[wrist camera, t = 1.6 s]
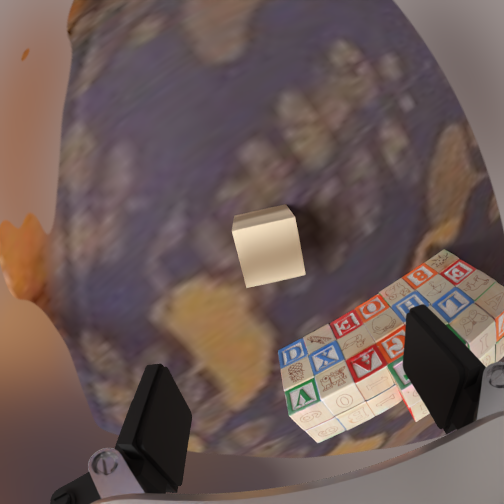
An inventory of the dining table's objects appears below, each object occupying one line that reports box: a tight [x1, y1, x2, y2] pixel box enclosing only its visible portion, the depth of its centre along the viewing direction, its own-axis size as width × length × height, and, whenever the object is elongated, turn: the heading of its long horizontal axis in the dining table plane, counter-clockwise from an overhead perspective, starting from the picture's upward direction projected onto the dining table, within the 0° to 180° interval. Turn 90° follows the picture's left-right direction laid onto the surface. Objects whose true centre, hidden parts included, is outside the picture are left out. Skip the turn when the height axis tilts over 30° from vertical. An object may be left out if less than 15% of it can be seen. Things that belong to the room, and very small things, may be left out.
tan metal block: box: [232, 204, 305, 288], centre depth 24 cm, size 4×4×5 cm
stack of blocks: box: [278, 249, 504, 443], centre depth 24 cm, size 21×6×12 cm, turn 122°
